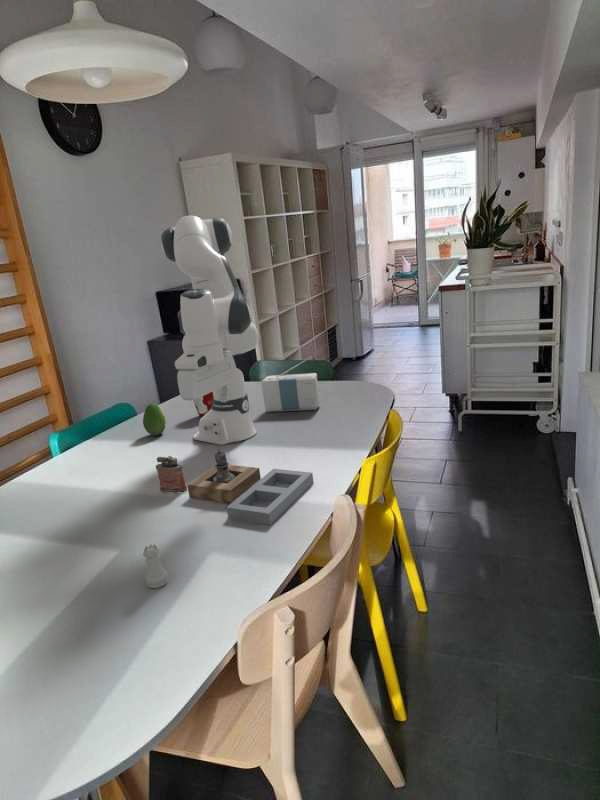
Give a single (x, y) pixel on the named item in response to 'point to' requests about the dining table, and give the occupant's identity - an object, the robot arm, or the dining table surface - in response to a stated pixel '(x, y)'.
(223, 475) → the grey chess piece
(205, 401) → the plastic cup
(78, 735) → the dining table surface
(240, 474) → the socket block
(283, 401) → the teal banded white box
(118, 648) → the dining table surface
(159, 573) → the rook chess piece
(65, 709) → the dining table surface
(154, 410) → the avocado
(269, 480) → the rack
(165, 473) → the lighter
